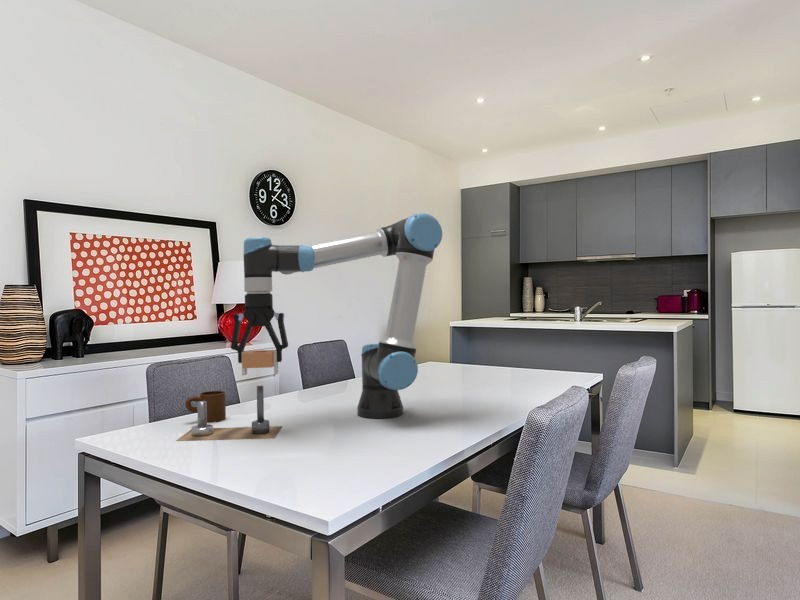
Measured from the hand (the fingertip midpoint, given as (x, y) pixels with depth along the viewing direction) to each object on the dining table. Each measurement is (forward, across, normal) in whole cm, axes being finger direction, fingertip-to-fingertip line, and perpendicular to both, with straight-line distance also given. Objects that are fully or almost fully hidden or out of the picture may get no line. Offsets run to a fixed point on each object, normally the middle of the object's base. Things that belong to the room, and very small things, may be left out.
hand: (260, 374), depth 146 cm
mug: (+17, +20, -16) cm, 31 cm away
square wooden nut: (-2, 0, 0) cm, 2 cm away
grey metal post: (+16, +16, 0) cm, 23 cm away
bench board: (+17, +8, 0) cm, 19 cm away
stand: (+16, 0, 0) cm, 16 cm away
